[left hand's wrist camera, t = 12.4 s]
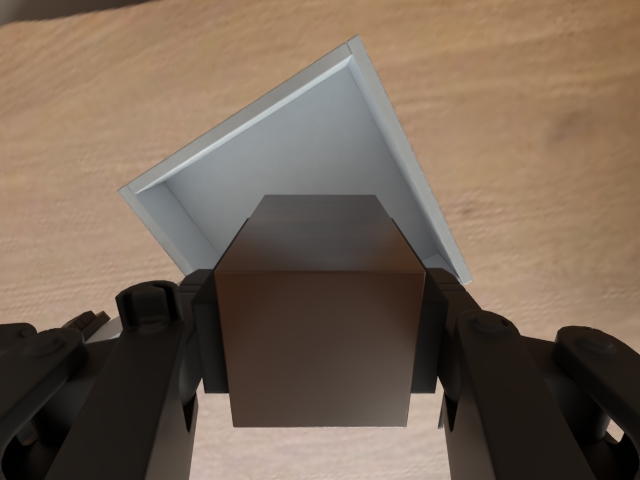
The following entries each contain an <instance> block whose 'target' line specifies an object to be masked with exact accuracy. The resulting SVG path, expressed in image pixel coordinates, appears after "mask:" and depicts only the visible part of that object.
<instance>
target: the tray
mask: <svg viewBox="0 0 640 480" xmlns="http://www.w3.org/2000/svg"><path fill="white" fill-rule="evenodd" d="M118 192H119V194H120V195H121V196H122V197H123V199H124V200H125V201H126V202H127V204H128V205H129V206H130V207H131V209H132V210H133V211H134V212H135V214H136V215H137V216H138V217H139V219H140V220H141V221H142V222H143V224H144V225H145V226H146V227H147V229H148V230H149V231H150V232H151V234H152V235H153V236H154V237H155V239H156V240H157V241H158V242H159V244H160V245H161V246H162V248H163V249H164V250H165V251H166V253H167V254H168V255H169V256H170V258H171V259H172V260H173V261H174V263H175V264H176V265H177V266H178V268H179V269H180V270H181V271H182V273H183V274H184V275H185V276H187V275H189V274H190V273H192V272H194V271H195V270H197V269H213V268H214V266H215V265H216V264H217V262H218V261H219V259H220V258H221V256H222V255H223V253H224V252H225V250H226V249H227V247H228V246H229V244H230V243H231V241H232V240H233V238H234V237H235V235H236V234H237V233H238V231H239V230H240V228H241V227H242V225H243V224H244V222H245V221H246V219H247V218H250V216H251V215H252V213H253V212H254V210H255V209H256V207H257V206H258V204H259V203H260V201H261V200H262V198H263V197H264V195H376V197H377V198H378V200H379V201H380V203H381V204H382V206H383V207H384V209H385V210H386V212H387V213H388V215H389V216H390V218H393V220H394V221H395V223H396V224H397V225H398V227H399V228H400V230H401V231H402V233H403V234H404V236H405V237H406V239H407V240H408V242H409V243H410V245H411V246H412V248H413V249H414V251H415V252H416V254H417V255H418V257H419V258H420V259H421V261H422V262H423V264H424V265H425V267H426V268H443V269H445V270H446V271H448V272H450V273H451V274H453V275H454V276H455V277H456V278H457V280H458V281H459V282H460V285H465V284H467V283H469V282H471V281H473V278H472V276H471V273H470V271H469V269H468V267H467V265H466V263H465V261H464V258H463V256H462V254H461V252H460V250H459V248H458V246H457V243H456V241H455V239H454V237H453V235H452V233H451V231H450V228H449V226H448V224H447V222H446V220H445V218H444V216H443V213H442V211H441V209H440V207H439V205H438V203H437V201H436V198H435V196H434V194H433V192H432V190H431V188H430V186H429V183H428V181H427V179H426V177H425V175H424V173H423V171H422V168H421V166H420V164H419V162H418V160H417V158H416V156H415V153H414V151H413V149H412V147H411V145H410V143H409V141H408V138H407V136H406V134H405V132H404V130H403V128H402V126H401V123H400V121H399V119H398V117H397V115H396V113H395V111H394V108H393V106H392V104H391V102H390V100H389V98H388V96H387V93H386V91H385V89H384V87H383V85H382V83H381V81H380V78H379V76H378V74H377V72H376V70H375V68H374V66H373V63H372V61H371V59H370V57H369V55H368V53H367V51H366V48H365V46H364V44H363V42H362V40H361V38H360V36H359V34H357V35H355V36H354V37H352V38H351V39H349V40H348V41H347V42H345V43H343V44H341V45H340V46H338V47H337V48H335V49H334V50H332V51H331V52H329V53H328V54H326V55H325V56H323V57H321V58H320V59H318V60H317V61H315V62H314V63H312V64H311V65H309V66H308V67H306V68H305V69H303V70H301V71H300V72H298V73H297V74H295V75H294V76H292V77H291V78H289V79H288V80H286V81H285V82H283V83H281V84H280V85H278V86H277V87H275V88H274V89H272V90H271V91H269V92H268V93H266V94H265V95H263V96H261V97H260V98H258V99H257V100H255V101H254V102H252V103H251V104H249V105H248V106H246V107H245V108H243V109H241V110H240V111H238V112H237V113H235V114H234V115H232V116H231V117H229V118H228V119H226V120H225V121H223V122H221V123H220V124H218V125H217V126H215V127H214V128H212V129H211V130H209V131H208V132H206V133H204V134H203V135H201V136H200V137H198V138H197V139H195V140H194V141H192V142H191V143H189V144H188V145H186V146H184V147H183V148H181V149H180V150H178V151H177V152H175V153H174V154H172V155H171V156H169V157H168V158H166V159H164V160H163V161H161V162H160V163H158V164H157V165H155V166H154V167H152V168H151V169H149V170H148V171H146V172H144V173H143V174H141V175H140V176H138V177H137V178H135V179H134V180H132V181H131V182H129V183H128V184H126V185H124V186H123V187H121V188H120V189H118ZM181 282H182V281H181ZM181 282H179V283H177V285H178V286H180V283H181ZM122 330H123V327H122V323H121V319H120V316H118V317H117V318H115V319H113V320H111V321H109V322H108V323H106V324H104V325H103V326H102V327H101V328H100V329H99V330H98V331H97V332H96V333H95V334H93V335H92V336H91V337H90V338H89V339H88V340H87V341H86V342H85V343H92V342H97V341H102V340H107V339H112V338H116V337H119V335H120V334H121V332H122Z"/></svg>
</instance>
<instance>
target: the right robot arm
mask: <svg viewBox="0 0 640 480" xmlns="http://www.w3.org/2000/svg"><path fill="white" fill-rule="evenodd" d="M110 319H111V318H110V317H109V316H108V315H107V314H106V313H105V312H104V311H102V312H100V313H98V314H96V315H95V314H94V313H93V312H92V311H88V312H84V313H82V314H81V315H79V316H77V317H75V318H74V319H72V320H70V321H68V322H67V323H66V324H65V325H63V326H62V327H61V328H65V327H70V328H76V329H78V330H80V331H81V332H82V333H83V337H84V340H85V342H86V341H87V340H88V339H89V338H90V337H91V336H92V335H93V334H95V333H96V332H97V331H98V330H99V329H100V328H101V327H102V326H103V325H104V324H106V323H107V322H108V321H109V320H110ZM36 334H37V330H36V329H35V327H34V326H32V325H31V324H29V323H12V324H0V357H1V356H2V355H3V354H5V353H6V352H7V351H9V350H10V349H11V348H13V347H14V346H15V345H17V344H18V343H20V342H22V341H23V340H25V339H27V338H29V337H31V336H33V335H36ZM33 432H34V431H33V428H32V426H31V423H30V421H28V422H27V423H26V424H25V425H24V426H23V427H22V428H21V429H20V430H19V432H18V433H17V434H16V435H17V438H18V440H19V442H20V443H21V444H22V443H23V442H24V441H26V440H27V439H28V438H29V437H30V436H31V435H32V434H33Z"/></svg>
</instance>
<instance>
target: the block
mask: <svg viewBox="0 0 640 480" xmlns="http://www.w3.org/2000/svg"><path fill="white" fill-rule="evenodd" d="M425 275H426V272H425V270H424V269H423V267H422V266H421V264H420V262H419V261H418V259H417V258H416V256H415V255H414V253H413V252H412V250H411V249H410V247H409V246H408V244H407V243H406V241H405V239H404V238H403V236H402V235H401V233H400V232H399V230H398V229H397V227H396V226H395V224H394V223H393V221H392V220H391V218H390V216H389V215H388V213H387V212H386V210H385V209H384V207H383V206H382V204H381V203H380V201H379V200H378V198H377V197H376V195H264V197H263V198H262V200H261V201H260V203H259V204H258V206H257V207H256V209H255V210H254V212H253V213H252V215H251V216H250V218H249V219H248V221H247V223H246V224H245V226H244V227H243V229H242V230H241V232H240V233H239V235H238V236H237V238H236V239H235V241H234V242H233V244H232V245H231V247H230V248H229V250H228V252H227V253H226V255H225V256H224V258H223V259H222V261H221V262H220V264H219V265H218V267H217V268H216V270H215V272H214V276H215V284H216V292H217V300H218V308H219V316H220V324H221V332H222V340H223V348H224V356H225V364H226V372H227V380H228V389H229V397H230V405H231V413H232V421H233V427H258V428H405V427H406V426H407V419H408V411H409V403H410V395H411V387H412V379H413V371H414V363H415V355H416V347H417V339H418V331H419V323H420V315H421V307H422V299H423V291H424V283H425Z"/></svg>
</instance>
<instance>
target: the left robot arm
mask: <svg viewBox="0 0 640 480" xmlns="http://www.w3.org/2000/svg"><path fill="white" fill-rule="evenodd" d="M248 219H249V218H247V219H246V221H245V222H244V224H243V225H242V227H241V228H240V230H239V231H238V233H237V234H236V235H235V237H234V238H233V240H232V241H231V243H230V244H229V246H228V247H227V249H226V250H225V252H224V253H223V255H222V256H221V258H220V259H219V261H218V262H217V264H216V265H215V266H214V268H213V269H197V270H195V271H194V272H192V273H190V274H189V275H187V276H186V277H185V278H184V279H183V281H182V282H181V283H180V286H178V285H177V284H175V283H174V282H170V281H165V280H157V281H149V282H143V283H140V284H137V285H134V286H131V287H129V288H127V289H125V290H123V291H121V292H120V293H119V294H118V295H117V296H116V297H115V299H116V303H117V307H118V311H119V315H120V319H121V323H122V327H123V330H122V332H121V334H120V335H119V337H116V338H112V339H107V340H102V341H97V342H92V343H85V340H84V337H83V333H82V332H81V331H80V330H78V329H76V328H70V327H65V328H54V329H49V330H48V331H47V330H45V331H42V332H39V333H37V334H36V335H33V336H31V337H29V338H27V339H25V340H23V341H22V342H20V343H18V344H17V345H15V346H14V347H13V348H11V349H10V350H9V351H7V352H6V353H5V354H3V355H2V356H1V357H0V480H189V474H190V467H191V459H192V451H193V444H194V436H195V428H196V421H197V413H198V400H197V394H196V390H197V387H198V385H199V383H200V381H201V378H202V379H203V385H204V391H205V393H229V389H228V380H227V372H226V364H225V356H224V348H223V340H222V332H221V324H220V316H219V308H218V300H217V292H216V284H215V276H214V272H215V270H216V268H217V267H218V265H219V264H220V262H221V261H222V259H223V258H224V256H225V255H226V253H227V252H228V250H229V248H230V247H231V245H232V244H233V242H234V241H235V239H236V238H237V236H238V235H239V233H240V232H241V230H242V229H243V227H244V226H245V224H246V223H247V221H248ZM391 220H392V221H393V223H394V224H395V226H396V227H397V229H398V230H399V232H400V233H401V235H402V236H403V238H404V239H405V241H406V243H407V244H408V246H409V247H410V249H411V250H412V252H413V253H414V255H415V256H416V258H417V259H418V261H419V262H420V264H421V266H422V267H423V269H424V270H425V272H426V275H425V283H424V291H423V299H422V307H421V315H420V323H419V331H418V339H417V347H416V355H415V363H414V371H413V379H412V387H411V393H435V390H436V383H437V377H439V380H440V382H441V384H442V386H443V389H444V394H443V400H442V406H441V412H440V418H439V424H438V429H441V430H442V429H443V424H444V428H445V435H446V443H447V451H448V458H449V466H450V474H451V480H640V355H639V354H638V353H637V352H635V351H634V350H633V349H631V348H630V347H629V346H627V345H626V344H625V343H623V342H621V341H620V340H618V339H617V338H615V337H613V336H611V335H609V334H606V333H604V332H602V331H600V330H598V329H594V328H593V329H592V328H590V327H585V326H583V327H582V326H566V327H562V328H561V329H560V330H558V332H557V335H556V339H555V342H551V341H546V340H541V339H536V338H530V337H526V336H522V335H520V333H519V331H518V329H517V328H516V327H515V325H514V324H513V323H512V322H511V321H509V320H508V319H506V318H505V317H503V316H501V315H498V314H496V313H493V312H490V311H485V310H482V309H481V308H480V306H479V305H478V304H477V303H476V302H475V300H474V299H473V298H472V297H471V295H470V294H469V293H468V292H466V289H465V288H464V287H463V286H462V285H460V282H459V281H458V280H457V278H456V277H455V276H454V275H453V274H451V273H450V272H448V271H446V270H445V269H443V268H426V267H425V265H424V264H423V262H422V261H421V259H420V258H419V257H418V255H417V254H416V252H415V251H414V249H413V248H412V246H411V245H410V243H409V242H408V240H407V239H406V237H405V236H404V234H403V233H402V231H401V230H400V228H399V227H398V225H397V224H396V223H395V221H394V220H393V218H391ZM611 419H612V420H613V421H614V422H615V423H616V424H617V425H618V426H619V427H620V428H621V429H622V430H623V431H624V434H623V437H622V439H621V441H620V442H617V441H616V440H615V439H614V438H613V437H612V436H611V435H610V434H609V433H608V432H607V431H606V430H607V427H608V425H609V423H610V420H611ZM28 421H30V423H31V426H32V428H33V431H34V432H33V434H32V435H31V436H30V437H29V438H28V439H27V440H26V441H24V442H23V443H22V444H21V443H20V442H19V440H18V438H17V435H16V434H17V433H18V432H19V430H20V429H21V428H22V427H23V426H24V425H25V424H26V423H27V422H28Z"/></svg>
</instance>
